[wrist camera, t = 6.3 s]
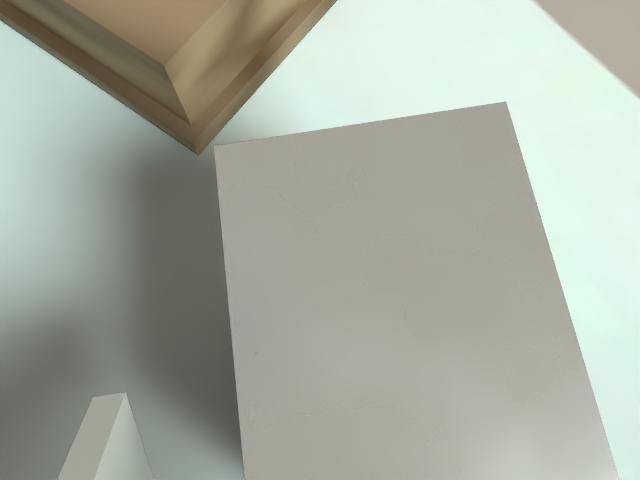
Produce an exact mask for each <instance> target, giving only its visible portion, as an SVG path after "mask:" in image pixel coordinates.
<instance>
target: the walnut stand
mask: <svg viewBox="0 0 640 480" xmlns="http://www.w3.org/2000/svg"><path fill="white" fill-rule="evenodd" d="M336 1H337V0H0V20H1V21H3V22H4V23H6V24H7V25H9V26H10V27H12V28H13V29H15V30H16V31H17V32H19V33H20V34H22V35H23V36H25V37H26V38H28V39H29V40H31V41H32V42H34V43H35V44H37V45H38V46H39V47H41V48H42V49H44V50H45V51H47V52H48V53H50V54H51V55H53V56H54V57H56V58H57V59H59V60H60V61H62V62H63V63H64V64H66V65H67V66H69V67H70V68H72V69H73V70H75V71H76V72H78V73H79V74H81V75H82V76H84V77H85V78H87V79H88V80H89V81H91V82H92V83H94V84H95V85H97V86H98V87H100V88H101V89H103V90H104V91H106V92H107V93H109V94H110V95H111V96H113V97H114V98H116V99H117V100H119V101H120V102H122V103H123V104H125V105H126V106H128V107H129V108H131V109H132V110H134V111H135V112H136V113H138V114H139V115H141V116H142V117H144V118H145V119H147V120H148V121H150V122H151V123H153V124H154V125H156V126H157V127H159V128H160V129H161V130H163V131H164V132H166V133H167V134H169V135H170V136H172V137H173V138H175V139H176V140H178V141H179V142H181V143H182V144H183V145H185V146H186V147H188V148H189V149H191V150H192V151H194V152H195V153H197V154H198V155H199V154H200V153H201V151H202V150H203V149H204V148H205V147H206V146H207V145H208V144H209V143H210V141H211V140H212V139H213V138H214V137H215V136H216V135H217V134H218V133H219V131H220V130H221V129H222V128H223V127H224V126H225V125H226V124H227V123H228V121H229V120H230V119H231V118H232V117H233V116H234V115H235V114H236V112H237V111H238V110H239V109H240V108H241V107H242V106H243V105H244V104H245V102H246V101H247V100H248V99H249V98H250V97H251V96H252V95H253V94H254V92H255V91H256V90H257V89H258V88H259V87H260V86H261V85H262V83H263V82H264V81H265V80H266V79H267V78H268V77H269V76H270V75H271V73H272V72H273V71H274V70H275V69H276V68H277V67H278V66H279V65H280V63H281V62H282V61H283V60H284V59H285V58H286V57H287V56H288V55H289V53H290V52H291V51H292V50H293V49H294V48H295V47H296V46H297V44H298V43H299V42H300V41H301V40H302V39H303V38H304V37H305V36H306V34H307V33H308V32H309V31H310V30H311V29H312V28H313V27H314V26H315V24H316V23H317V22H318V21H319V20H320V19H321V18H322V17H323V16H324V14H325V13H326V12H327V11H328V10H329V9H330V8H331V7H332V5H333V4H334V3H335V2H336Z"/></svg>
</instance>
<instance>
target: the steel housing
mask: <svg viewBox="0 0 640 480" xmlns="http://www.w3.org/2000/svg"><path fill="white" fill-rule="evenodd" d="M214 155H215V166H216V176H217V187H218V198H219V209H220V219H221V230H222V241H223V252H224V262H225V273H226V284H227V295H228V305H229V316H230V327H231V337H232V348H233V359H234V370H235V380H236V391H237V402H238V413H239V423H240V434H241V445H242V456H243V466H244V477H245V480H619V477H618V473H617V470H616V467H615V463H614V460H613V457H612V453H611V450H610V447H609V443H608V440H607V437H606V433H605V430H604V427H603V423H602V420H601V417H600V413H599V410H598V407H597V403H596V400H595V397H594V393H593V390H592V387H591V383H590V380H589V377H588V373H587V370H586V367H585V363H584V360H583V357H582V353H581V350H580V347H579V343H578V340H577V337H576V333H575V330H574V327H573V323H572V320H571V317H570V313H569V310H568V307H567V303H566V300H565V297H564V293H563V290H562V287H561V283H560V280H559V277H558V273H557V270H556V267H555V263H554V260H553V257H552V253H551V250H550V247H549V243H548V240H547V237H546V233H545V230H544V227H543V223H542V220H541V217H540V213H539V210H538V207H537V203H536V200H535V197H534V193H533V190H532V187H531V183H530V180H529V177H528V173H527V170H526V167H525V163H524V160H523V157H522V153H521V150H520V147H519V143H518V140H517V137H516V133H515V130H514V127H513V123H512V120H511V117H510V113H509V110H508V107H507V103H506V102H501V103H494V104H487V105H481V106H474V107H468V108H461V109H454V110H448V111H441V112H435V113H428V114H421V115H415V116H408V117H402V118H395V119H388V120H382V121H375V122H369V123H362V124H355V125H349V126H342V127H336V128H329V129H322V130H316V131H309V132H303V133H296V134H289V135H283V136H276V137H270V138H263V139H256V140H250V141H243V142H237V143H230V144H223V145H217V146H214Z"/></svg>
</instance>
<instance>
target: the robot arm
mask: <svg viewBox="0 0 640 480" xmlns="http://www.w3.org/2000/svg"><path fill="white" fill-rule="evenodd" d="M57 480H154V477H153V474H152V471H151V468H150V465H149V462H148V459H147V456H146V453H145V450H144V447H143V444H142V441H141V438H140V435H139V432H138V428H137V425H136V422H135V419H134V416H133V413H132V410H131V407H130V404H129V401H128V398H127V395H126V392H123V393H117V394H110V395H103V396H97V397H93V398H92V400H91V403H90V405H89V407H88V409H87V412H86V414H85V416H84V419H83V421H82V423H81V426H80V428H79V430H78V432H77V435H76V437H75V439H74V442H73V444H72V446H71V448H70V451H69V453H68V455H67V458H66V460H65V462H64V465H63V467H62V469H61V471H60V474H59V476H58V478H57Z"/></svg>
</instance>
